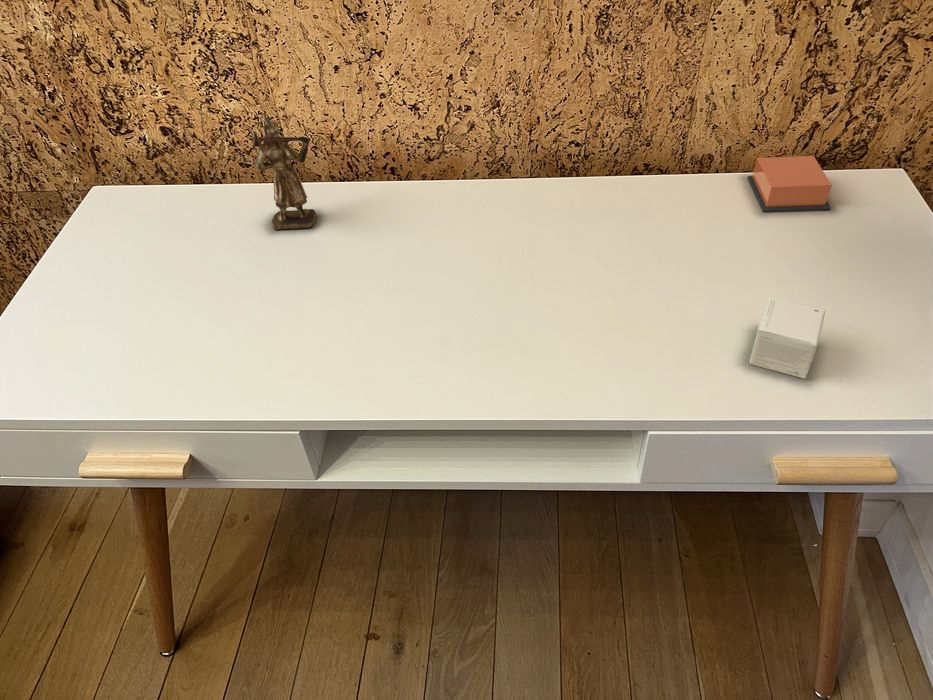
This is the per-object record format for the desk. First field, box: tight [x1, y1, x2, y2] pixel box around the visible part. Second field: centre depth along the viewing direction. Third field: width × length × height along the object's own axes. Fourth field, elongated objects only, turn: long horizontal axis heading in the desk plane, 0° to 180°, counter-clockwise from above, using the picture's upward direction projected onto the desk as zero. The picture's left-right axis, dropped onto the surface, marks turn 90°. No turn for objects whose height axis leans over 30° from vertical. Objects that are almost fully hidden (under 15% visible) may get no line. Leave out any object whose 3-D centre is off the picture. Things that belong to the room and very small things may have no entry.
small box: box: [749, 297, 826, 380], centre depth 74 cm, size 6×6×5 cm
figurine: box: [247, 116, 318, 231], centre depth 94 cm, size 7×4×15 cm, turn 89°
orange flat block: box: [751, 155, 832, 207], centre depth 96 cm, size 7×7×3 cm
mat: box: [747, 175, 832, 213], centre depth 97 cm, size 8×8×1 cm
